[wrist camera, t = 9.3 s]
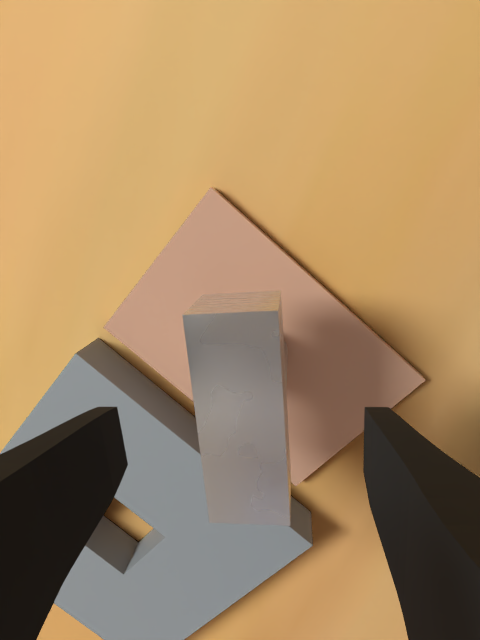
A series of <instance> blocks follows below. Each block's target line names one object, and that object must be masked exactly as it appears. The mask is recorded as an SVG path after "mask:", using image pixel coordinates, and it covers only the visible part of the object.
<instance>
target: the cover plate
mask: <svg viewBox="0 0 480 640" xmlns="http://www.w3.org/2000/svg"><path fill="white" fill-rule="evenodd" d="M96 407H117V409H118V414H119V419H120V425H121V430H122V435H123V440H124V446H125V451H126V456H127V462H128V466H127V468H126V471H125V473H124V476H123V478H122V481H121V483H120V485H119V487H118V490H117V492H116V494H115V496H114V498H116V499H117V500H118V501H119V502H121V503H122V504H123V505H125V506H126V507H127V508H129V509H130V510H131V511H132V512H134V513H135V514H136V515H138V516H139V517H140V518H141V519H143V520H144V521H145V522H147V523H148V524H149V525H150V526H152V527H153V528H154V529H153V530H151V531H150V532H149V533H148V534H147V535H146V536H145V537H144V538H143V539H142V540H141V541H140V542H137V541H136V540H135V539H133V538H132V537H131V536H129V535H128V534H127V533H125V532H124V531H123V530H121V529H120V528H119V527H118V526H116V525H115V524H114V523H112V522H111V521H110V520H108V519H107V518H106V517H105V516H103V517H102V519H101V520H100V522H99V524H98V525H97V527H96V529H95V530H94V532H93V533H92V535H91V537H90V538H89V540H88V542H87V543H86V545H85V547H84V548H83V550H82V552H81V553H80V555H79V557H78V558H77V560H76V562H75V563H74V565H73V567H72V568H71V570H70V572H69V574H68V576H67V577H66V579H65V581H64V583H63V585H62V587H61V589H60V591H59V593H58V595H57V597H56V599H55V601H54V604H56V605H57V606H58V607H60V608H61V609H63V610H64V611H65V612H67V613H68V614H69V615H71V616H72V617H74V618H75V619H76V620H78V621H79V622H80V623H82V624H83V625H85V626H86V627H87V628H89V629H90V630H91V631H93V632H94V633H96V634H97V635H98V636H100V637H101V638H102V639H104V640H184V639H186V638H187V637H188V636H190V635H191V634H192V633H194V632H195V631H197V630H198V629H199V628H201V627H202V626H203V625H205V624H206V623H208V622H209V621H210V620H212V619H213V618H214V617H216V616H217V615H218V614H220V613H221V612H223V611H224V610H225V609H227V608H228V607H229V606H231V605H232V604H233V603H235V602H236V601H238V600H239V599H240V598H242V597H243V596H244V595H246V594H247V593H249V592H250V591H251V590H253V589H254V588H255V587H257V586H258V585H259V584H261V583H262V582H264V581H265V580H266V579H268V578H269V577H270V576H272V575H273V574H274V573H276V572H277V571H279V570H280V569H281V568H283V567H284V566H285V565H287V564H288V563H290V562H291V561H292V560H294V559H295V558H296V557H298V556H299V555H300V554H302V553H303V552H305V551H306V550H307V549H309V548H310V547H311V546H313V540H312V521H311V512H310V511H309V510H307V509H306V508H305V507H304V506H303V505H301V504H300V503H299V502H298V501H296V500H295V499H294V498H293V497H292V496H291V518H290V526H280V525H255V524H229V523H209V516H208V508H207V500H206V493H205V485H204V477H203V470H202V462H201V454H200V447H199V439H198V431H197V424H196V418H195V417H194V416H193V415H192V414H190V413H189V412H188V411H187V410H186V409H184V408H183V407H182V406H181V405H180V404H178V403H177V402H176V401H175V400H173V399H172V398H171V397H170V396H169V395H167V394H166V393H165V392H164V391H162V390H161V389H160V388H159V387H158V386H156V385H155V384H154V383H153V382H152V381H150V380H149V379H148V378H147V377H145V376H144V375H143V374H142V373H141V372H139V371H138V370H137V369H136V368H134V367H133V366H132V365H131V364H130V363H128V362H127V361H126V360H125V359H123V358H122V357H121V356H120V355H119V354H117V353H116V352H115V351H114V350H113V349H111V348H110V347H109V346H108V345H106V344H105V343H104V342H103V341H102V340H100V339H99V338H97V339H96V340H94V341H93V342H92V343H90V344H89V345H87V346H86V347H84V348H83V349H81V350H80V351H79V352H77V353H76V354H75V355H74V356H73V358H72V359H71V360H70V362H69V363H68V364H67V366H66V367H65V368H64V370H63V371H62V372H61V374H60V375H59V376H58V378H57V379H56V380H55V382H54V383H53V384H52V386H51V387H50V388H49V389H48V391H47V392H46V393H45V395H44V396H43V397H42V399H41V400H40V401H39V403H38V404H37V405H36V407H35V408H34V409H33V411H32V412H31V413H30V415H29V416H28V417H27V419H26V420H25V421H24V423H23V424H22V425H21V426H20V428H19V429H18V430H17V432H16V433H15V434H14V436H13V437H12V438H11V440H10V441H9V442H8V444H7V445H6V446H5V448H4V449H3V450H2V452H1V453H0V454H2V453H4V452H6V451H8V450H10V449H12V448H14V447H16V446H19V445H21V444H23V443H25V442H27V441H29V440H31V439H33V438H35V437H37V436H39V435H41V434H43V433H45V432H47V431H48V430H50V429H52V428H54V427H56V426H58V425H60V424H62V423H64V422H66V421H68V420H70V419H72V418H74V417H76V416H78V415H80V414H82V413H84V412H86V411H89V410H91V409H94V408H96Z"/></svg>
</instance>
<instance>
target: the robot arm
mask: <svg viewBox="0 0 480 640" xmlns="http://www.w3.org/2000/svg"><path fill="white" fill-rule="evenodd" d="M127 466H128V462H127V456H126V451H125V446H124V440H123V435H122V430H121V425H120V419H119V414H118V409H117V407H96V408H94V409H91V410H89V411H86V412H84V413H82V414H80V415H78V416H76V417H74V418H72V419H70V420H68V421H66V422H64V423H62V424H60V425H58V426H56V427H54V428H52V429H50V430H48V431H47V432H45V433H43V434H41V435H39V436H37V437H35V438H33V439H31V440H29V441H27V442H25V443H23V444H21V445H19V446H16V447H14V448H12V449H10V450H8V451H6V452H4V453H2V454H0V640H36V639H37V637H38V635H39V632H40V630H41V628H42V626H43V624H44V622H45V620H46V618H47V615H48V613H49V611H50V609H51V607H52V605H53V603H54V601H55V599H56V597H57V595H58V593H59V591H60V589H61V587H62V585H63V583H64V581H65V579H66V577H67V576H68V574H69V572H70V570H71V568H72V567H73V565H74V563H75V562H76V560H77V558H78V557H79V555H80V553H81V552H82V550H83V548H84V547H85V545H86V543H87V542H88V540H89V538H90V537H91V535H92V533H93V532H94V530H95V529H96V527H97V525H98V524H99V522H100V520H101V519H102V517H103V515H104V513H105V512H106V510H107V508H108V507H109V505H110V503H111V501H112V500H113V498H114V496H115V494H116V492H117V490H118V487H119V485H120V483H121V481H122V478H123V476H124V473H125V471H126V468H127ZM363 471H364V476H365V482H366V488H367V493H368V498H369V503H370V507H371V511H372V514H373V517H374V520H375V524H376V527H377V530H378V533H379V537H380V540H381V543H382V546H383V549H384V552H385V556H386V559H387V562H388V565H389V568H390V571H391V575H392V578H393V581H394V584H395V587H396V590H397V594H398V598H399V601H400V605H401V609H402V612H403V617H404V621H405V626H406V630H407V635H408V639H409V640H480V478H479V477H478V476H476V475H475V474H473V473H472V472H470V471H469V470H467V469H466V468H465V467H463V466H462V465H460V464H459V463H457V462H456V461H455V460H453V459H452V458H450V457H449V456H448V455H446V454H445V453H444V452H442V451H441V450H440V449H438V448H437V447H436V446H435V445H433V444H432V443H431V442H429V441H428V440H427V439H426V438H424V437H423V436H422V435H421V434H420V433H418V432H417V431H416V430H415V429H414V428H412V427H411V426H410V425H409V424H408V423H407V422H405V421H404V420H403V419H402V418H401V417H400V416H398V415H397V414H396V413H395V412H394V411H392V410H391V409H390V408H389V407H365V411H364V470H363Z"/></svg>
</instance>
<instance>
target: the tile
mask: <svg viewBox="0 0 480 640" xmlns="http://www.w3.org/2000/svg"><path fill="white" fill-rule="evenodd" d="M274 290H281V299H282V318H283V336H284V340H285V342H286V345H287V350H288V359H287V385H286V391H287V410H288V428H289V447H290V465H291V483H292V484H294V485H295V486H297V485H298V484H299V483H301V482H302V481H303V480H304V479H305V478H307V477H308V476H309V475H310V474H312V473H313V472H314V471H315V470H316V469H318V468H319V467H320V466H321V465H323V464H324V463H325V462H326V461H327V460H329V459H330V458H331V457H332V456H334V455H335V454H336V453H337V452H338V451H340V450H341V449H342V448H343V447H345V446H346V445H347V444H348V443H350V442H351V441H352V440H353V439H354V438H356V437H357V436H358V435H359V434H361V433H362V432H363V431H364V411H365V407H389V408H390V409H391V408H392V407H394V406H395V405H396V404H397V403H398V402H400V401H401V400H402V399H403V398H405V397H406V396H407V395H408V394H410V393H411V392H412V391H413V390H414V389H416V388H417V387H418V386H419V385H421V384H422V383H423V382H424V381H425V379H424V377H423V376H422V375H421V374H420V373H419V372H418V371H417V370H416V369H415V368H414V367H413V366H412V365H410V364H409V363H408V362H407V361H406V360H405V359H404V358H403V357H402V356H400V355H399V354H398V353H397V352H396V351H395V350H394V349H393V348H392V347H390V346H389V345H388V344H387V343H386V342H385V341H384V340H383V339H382V338H380V337H379V336H378V335H377V334H376V333H375V332H374V331H373V330H372V329H370V328H369V327H368V326H367V325H366V324H365V323H364V322H363V321H362V320H360V319H359V318H358V317H357V316H356V315H355V314H354V313H353V312H352V311H350V310H349V309H348V308H347V307H346V306H345V305H344V304H343V303H342V302H340V301H339V300H338V299H337V298H336V297H335V296H334V295H333V294H332V293H330V292H329V291H328V290H327V289H326V288H325V287H324V286H323V285H322V284H320V283H319V282H318V281H317V280H316V279H315V278H314V277H313V276H312V275H310V274H309V273H308V272H307V271H306V270H305V269H304V268H303V267H302V266H300V265H299V264H298V263H297V262H296V261H295V260H294V259H293V258H292V257H290V256H289V255H288V254H287V253H286V252H285V251H284V250H283V249H282V248H280V247H279V246H278V245H277V244H276V243H275V242H274V241H273V240H272V239H270V238H269V237H268V236H267V235H266V234H265V233H264V232H263V231H262V230H260V229H259V228H258V227H257V226H256V225H255V224H254V223H253V222H252V221H250V220H249V219H248V218H247V217H246V216H245V215H244V214H243V213H242V212H240V211H239V210H238V209H237V208H236V207H235V206H234V205H233V204H232V203H230V202H229V201H228V200H227V199H226V198H225V197H224V196H223V195H222V194H220V193H219V192H218V191H217V190H216V189H215V188H213V187H211V188H210V189H209V190H208V192H207V193H206V194H205V195H204V197H203V198H202V199H201V201H200V202H199V203H198V205H197V206H196V207H195V208H194V210H193V211H192V212H191V214H190V215H189V216H188V218H187V219H186V220H185V222H184V223H183V224H182V225H181V227H180V228H179V229H178V231H177V232H176V233H175V235H174V236H173V237H172V239H171V240H170V241H169V242H168V244H167V245H166V246H165V248H164V249H163V250H162V252H161V253H160V254H159V255H158V257H157V258H156V259H155V261H154V262H153V263H152V265H151V266H150V267H149V269H148V270H147V271H146V272H145V274H144V275H143V276H142V278H141V279H140V280H139V282H138V283H137V284H136V285H135V287H134V288H133V289H132V291H131V292H130V293H129V295H128V296H127V297H126V299H125V300H124V301H123V302H122V304H121V305H120V306H119V308H118V309H117V310H116V312H115V313H114V314H113V316H112V317H111V318H110V319H109V321H108V322H107V323H106V325H105V326H104V327H103V328H105V329H106V330H107V331H108V332H110V333H111V334H112V335H113V336H114V337H116V338H117V339H118V340H119V341H120V342H122V343H123V344H124V345H125V346H127V347H128V348H129V349H130V350H131V351H133V352H134V353H135V354H136V355H137V356H139V357H140V358H141V359H142V360H143V361H145V362H146V363H147V364H148V365H150V366H151V367H152V368H153V369H154V370H156V371H157V372H158V373H159V374H160V375H162V376H163V377H164V378H165V379H166V380H168V381H169V382H170V383H171V384H173V385H174V386H175V387H176V388H177V389H179V390H180V391H181V392H182V393H183V394H185V395H186V396H187V397H188V398H190V399H191V400H192V401H193V393H192V385H191V378H190V370H189V362H188V355H187V347H186V339H185V332H184V324H183V316H182V315H183V314H184V313H185V312H186V311H187V310H188V309H189V308H190V307H191V306H192V305H193V304H194V303H195V302H196V301H197V300H198V299H199V298H200V297H201V296H202V295H203V294H218V293H237V292H255V291H274ZM193 402H194V401H193Z"/></svg>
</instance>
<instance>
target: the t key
mask: <svg viewBox="0 0 480 640" xmlns="http://www.w3.org/2000/svg"><path fill="white" fill-rule="evenodd" d="M182 316H183V324H184V332H185V339H186V347H187V355H188V362H189V370H190V378H191V385H192V393H193V401H194V408H195V416H196V424H197V431H198V439H199V447H200V454H201V462H202V470H203V477H204V485H205V493H206V500H207V508H208V516H209V523H229V524H255V525H280V526H290V518H291V465H290V447H289V428H288V410H287V391H286V385H287V359H288V350H287V345H286V342H285V340H284V336H283V318H282V299H281V290H274V291H255V292H237V293H218V294H203V295H202V296H201V297H200V298H199V299H198V300H197V301H196V302H195V303H194V304H193V305H192V306H191V307H190V308H189V309H188V310H187V311H186V312H185V313H184V314H183V315H182Z"/></svg>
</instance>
